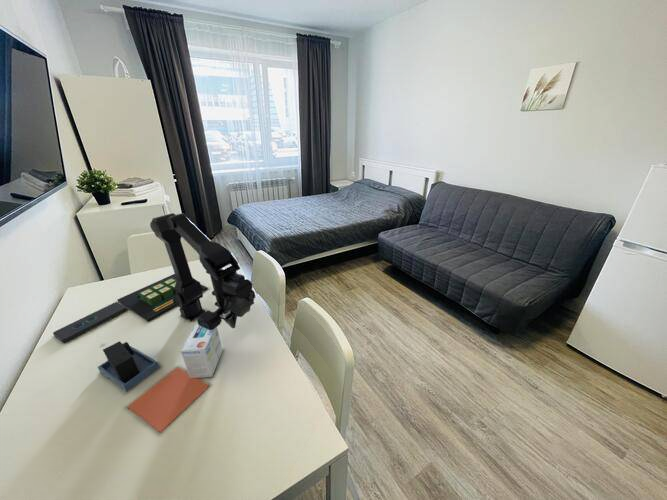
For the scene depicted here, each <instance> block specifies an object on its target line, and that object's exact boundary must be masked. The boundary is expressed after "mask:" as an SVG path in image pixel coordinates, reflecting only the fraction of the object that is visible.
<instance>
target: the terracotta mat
mask: <svg viewBox="0 0 667 500" xmlns="http://www.w3.org/2000/svg"><path fill="white" fill-rule="evenodd" d="M209 387H210V385H209V384H207V383H206V382H204V381H202V380H201V379H200V378H190V377H189V374H188V371H185V370H184V369H182V368H180V367H175V368H174V369H173V370H172V371H170V372H169V373H168V374H167V375H165V376H164V377H163V378H162V379H161V380H159V381H158V382H156V383H155V384H154V385H153V386H151V387H150V388H149V389H148V390H147V391H145V392H144V393H143V394H141V396H139V397H138V398H136V399H135V400H134V401H133V402H132V403H130V404H129V405H128V406H127V409H129V410H130V411H131V412H133V413H134V414H135V415H136V416H138V417H139V418H141V420H143V421H144V422H146V423H147V424H148V425H149V426H151V427H152V428H154V429H155V430H156V431H158V432H159V433H162V432H163V431H164V430H165V429H166V428H167V427H169V425H170V424H171V423H173V422H174V421H175V420H176V419H177V418H178V417H179V416H180V415H181V414H182V413H183V412H184V411H185V410H186V409H188V407H189V406H191V404H193V403H194V401H196V400H197V398H199V397H200V396H201V395H202V394H203V393H204V392H205V391H206V390H207V389H208V388H209Z"/></svg>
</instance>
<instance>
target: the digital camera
mask: <svg viewBox="0 0 667 500" xmlns="http://www.w3.org/2000/svg"><path fill="white" fill-rule="evenodd" d="M130 346H131V345H130V344H129V342H128V341H125V342H123V343H122V342H121V341H117V342H115V343H113V344H111V345H109V346H107V347H105V348H103V349H102V352H103V353H104V355H105V357H106V359H107V361H109V363H110V365H111V367H112V368H113V369H114V371H115V372H116V374H117V375H118V377H119V378H120V380H121V381H122V382H123V383H127V382H128V381H129V380H131V379H132V378H134V377H135V376H136V375H138V374H139V373H140V372H139V370H138V368H137V366H136V363H135V361H134V359H133V357H132V355H133V354H134V353H133V351H132V349H131V347H132V346H131V347H130Z"/></svg>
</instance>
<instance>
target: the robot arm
mask: <svg viewBox="0 0 667 500" xmlns="http://www.w3.org/2000/svg"><path fill="white" fill-rule="evenodd" d="M149 226H150V229H151V231H152V232H153V233H154V235H155V237H156V238H157V239H159V240H160V241H162V242H163V244H164V247H165V249H166V252H167V255H168V259H169V261H170V263H171V267H172V270H173V272H174V273H173V274H175V276H176V278H177V281H176V284H175V287H174V289H175V293H176V295H175V296H174V298H173V301H174V303H175V305H177V306H176V307H178V308H179V313H180V314H179V315H180V317H181V318H182V319H185V320H188V321H190V322H192V321H194V320H197V325H200V326H202V327H204V328H206V329H209V330H213V329H214V328H216V327H217V328H218V327H219V326H220V325H221V323H222V321H224V322H225V323H226V324H227V325H228V326H229V327H230V328H231V329H234V328H236V326H237V325H236V324H237V319H238V318H242V317H244V316H245V315H246V314H247V313H249V312H250V311H251V306H253V305H254V304H255V298H256V292H255V291H254V290H253V283H252V281H251V280H250V279H247V278H245V275H244V274H240V273H238V271H239V270H241V266H240V265H239V262H238V260H237V259H236V258H235V257H234V255H233V254H232V252H231V251H230V250H229V249H227V247H225V246H224V245H222V244H221V243H219V242H216V241H212V240H211V239H210V238H209V237H207V235H206V234H204V233H203V232H202V231H201V230H200V229H199V228H198V227H197V225H196V224H194V223H193V222H192V221H191V220H190V218H189V216H188V214H186V213H182V212H181V213H178V214H175V213H174V212H171V213H167V214H163V215H161V216H156V217H153V218H152V219H151V221H150V223H149ZM182 238H183V240H184V241H186V243H187V244H188V245H189V246H191V248H192V249H193V250H194V251H195V252H196V253H197V254H198V258H199V262H200V264H201V265H202V267H203V269H204V270H205V273H206V274H208V275H209V277H210V281H211V284H212V289H213V290H212V291H211V296H215V300H216V301H215V302H214V306H215V307H217V309H215V310H213V311H211V310H206V309H203V306H202V302H201V298H203V297H204V292H203V288H202V286H201V285H202V284H201V282H200V281H199V280H197V279H196V278H194V277H193V276H192V272H191V268H190V265H189V262H188V258H187V256H186V253H185V250H184V246H183V243H182ZM229 265H230V266H229ZM227 266H228V267H227Z"/></svg>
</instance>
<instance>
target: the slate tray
mask: <svg viewBox="0 0 667 500" xmlns="http://www.w3.org/2000/svg"><path fill="white" fill-rule="evenodd" d="M130 347H131V349H132V351H133V353H134V354H133V355H132V357H133V359H134V361H135V363H136V366H137V368H138V370H139V372H140V373H139V374H138V375H136V376H135V377H134V378H132V379H131V380H129V381H128V382H127V383H123V382H122V381H121V380H120V378H119V377H118V375H117V374H116V372H115V371H114V369H113V368H112V367H111V365H110V363H109V361H108V360H106V361H105V362H103V363H101V364H100V365H98V366H97V369H98V371H99V373H100V374H101V375H103V376H104V377H106V378H107V379H108V380H109V381H111V382H112V383H114V384H115V385H116V386H118V387H119V388H120V389H122V390H124V391H125V392H126V393H128V392H129V391H131V390H132V389H133V388H134V387H136V386H138V385H139V384H140V383H141V382H143V381H144V380H146V379H147V378H148V377H149V376H151V375H152V374H153V373H155V372H156V371H157V370H158V369H160V364H159V361H157V360H155V359H153V358H152V357H150V356H149V355H147V354H145V353H144V352H142V351H140V350H138V349H137V348H135V347H133V346H132V345H130Z"/></svg>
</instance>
